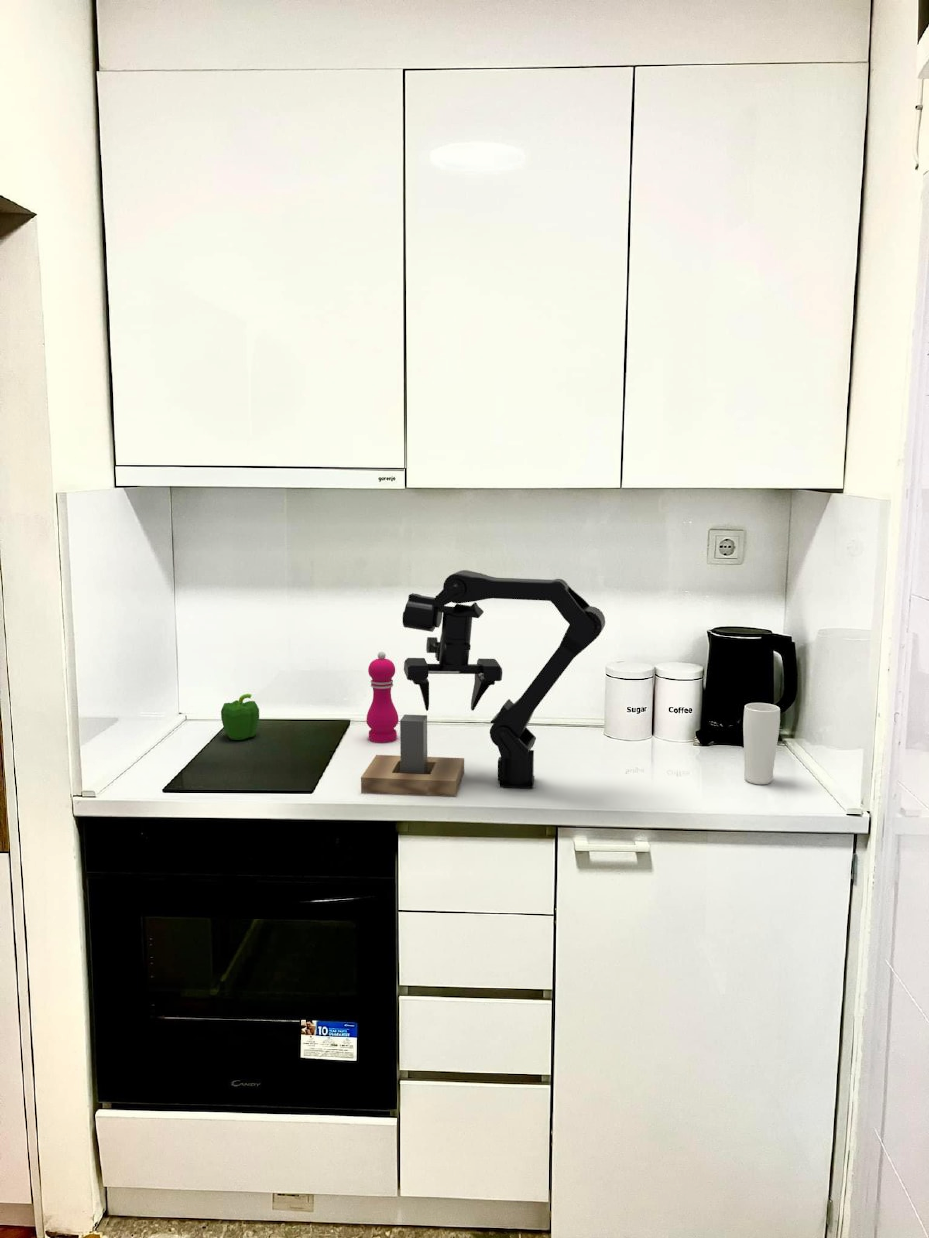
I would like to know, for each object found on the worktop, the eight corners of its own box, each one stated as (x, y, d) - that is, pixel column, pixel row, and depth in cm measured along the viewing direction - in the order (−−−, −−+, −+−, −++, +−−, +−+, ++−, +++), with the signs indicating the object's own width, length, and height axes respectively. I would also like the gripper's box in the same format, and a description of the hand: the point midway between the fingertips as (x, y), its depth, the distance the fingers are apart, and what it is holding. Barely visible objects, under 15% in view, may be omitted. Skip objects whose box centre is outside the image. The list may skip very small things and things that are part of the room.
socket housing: (464, 772, 195) (464, 758, 194) (455, 796, 181) (455, 781, 181) (376, 768, 197) (376, 754, 196) (361, 792, 183) (360, 777, 183)
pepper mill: (397, 743, 214) (396, 655, 211) (364, 743, 214) (363, 655, 211) (399, 734, 221) (399, 648, 218) (368, 734, 221) (367, 648, 218)
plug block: (427, 778, 191) (427, 715, 189) (423, 786, 187) (423, 721, 184) (404, 778, 191) (404, 714, 189) (400, 785, 187) (400, 720, 185)
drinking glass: (761, 773, 194) (765, 701, 192) (783, 784, 188) (788, 709, 186) (733, 777, 192) (736, 704, 189) (754, 788, 186) (758, 712, 183)
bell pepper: (216, 742, 215) (214, 698, 213) (229, 731, 223) (228, 689, 221) (252, 743, 214) (250, 699, 212) (265, 733, 222) (263, 690, 220)
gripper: (493, 623, 197) (486, 694, 201) (402, 621, 193) (397, 694, 197) (506, 641, 186) (498, 715, 191) (410, 639, 182) (405, 716, 187)
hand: (449, 709), depth 192 cm, fingers open, 9 cm apart
